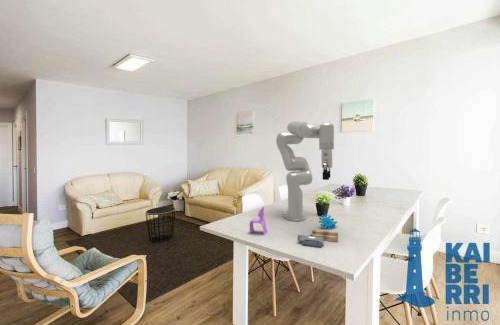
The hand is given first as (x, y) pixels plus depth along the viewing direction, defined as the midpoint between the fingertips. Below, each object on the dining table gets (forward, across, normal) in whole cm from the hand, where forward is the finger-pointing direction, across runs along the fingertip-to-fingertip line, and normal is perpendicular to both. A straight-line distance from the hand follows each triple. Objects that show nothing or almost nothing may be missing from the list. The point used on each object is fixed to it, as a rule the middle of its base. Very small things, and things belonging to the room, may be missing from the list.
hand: (326, 178), depth 135 cm
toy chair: (+31, -10, +36) cm, 48 cm away
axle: (+29, -19, +6) cm, 35 cm away
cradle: (+30, -18, +5) cm, 36 cm away
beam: (+30, -8, 0) cm, 31 cm away
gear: (+31, +10, 0) cm, 32 cm away
